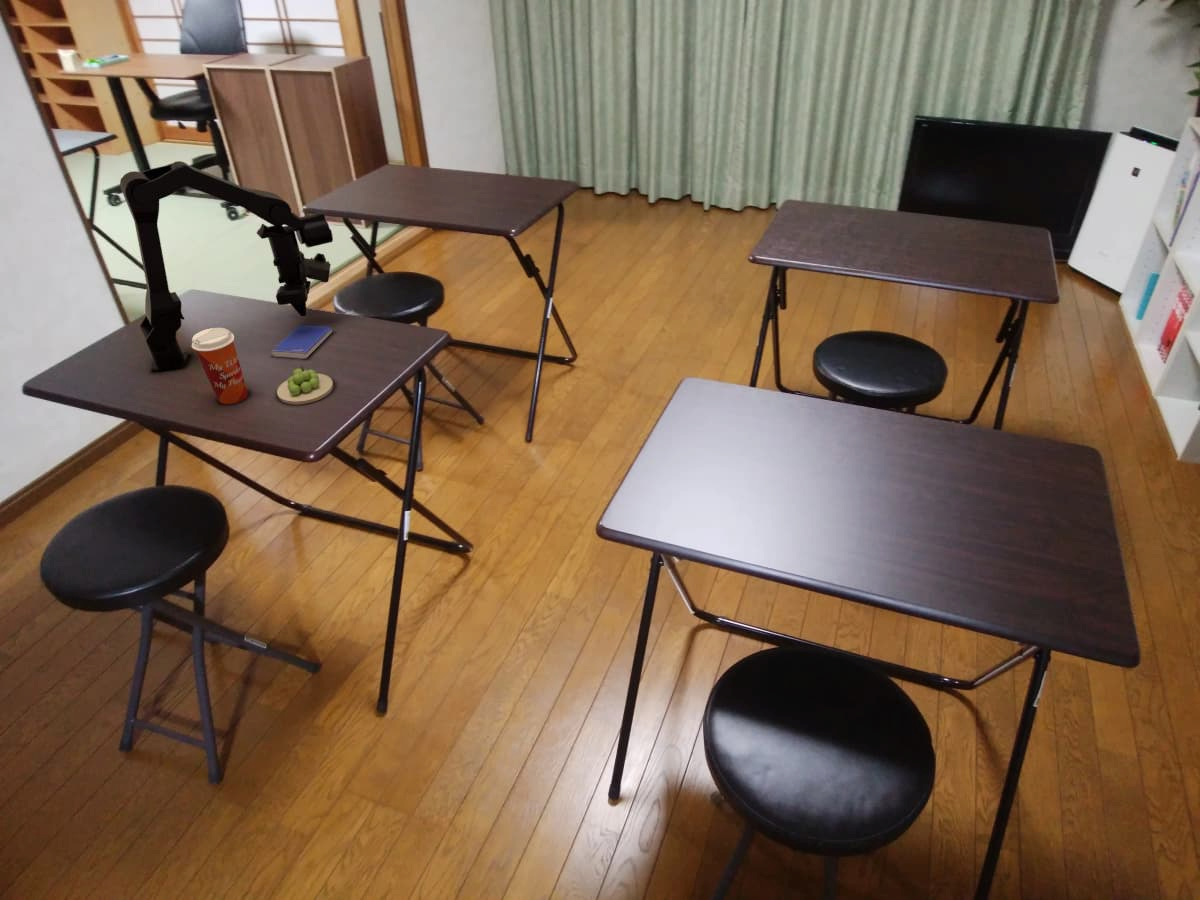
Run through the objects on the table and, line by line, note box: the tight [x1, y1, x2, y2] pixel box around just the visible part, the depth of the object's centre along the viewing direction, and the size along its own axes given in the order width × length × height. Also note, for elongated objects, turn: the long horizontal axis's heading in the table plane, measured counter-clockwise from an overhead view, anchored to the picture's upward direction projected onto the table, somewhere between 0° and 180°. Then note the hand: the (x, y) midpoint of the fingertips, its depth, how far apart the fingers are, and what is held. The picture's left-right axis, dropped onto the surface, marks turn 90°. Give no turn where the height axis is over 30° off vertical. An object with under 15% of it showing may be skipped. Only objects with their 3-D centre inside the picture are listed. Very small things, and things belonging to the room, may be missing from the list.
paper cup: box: [191, 327, 248, 405], centre depth 151 cm, size 8×8×14 cm
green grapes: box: [287, 365, 319, 395], centre depth 155 cm, size 8×6×5 cm
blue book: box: [271, 324, 333, 360], centre depth 172 cm, size 2×8×12 cm
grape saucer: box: [276, 372, 334, 406], centre depth 156 cm, size 11×11×1 cm
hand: (303, 315), depth 179 cm, fingers closed
